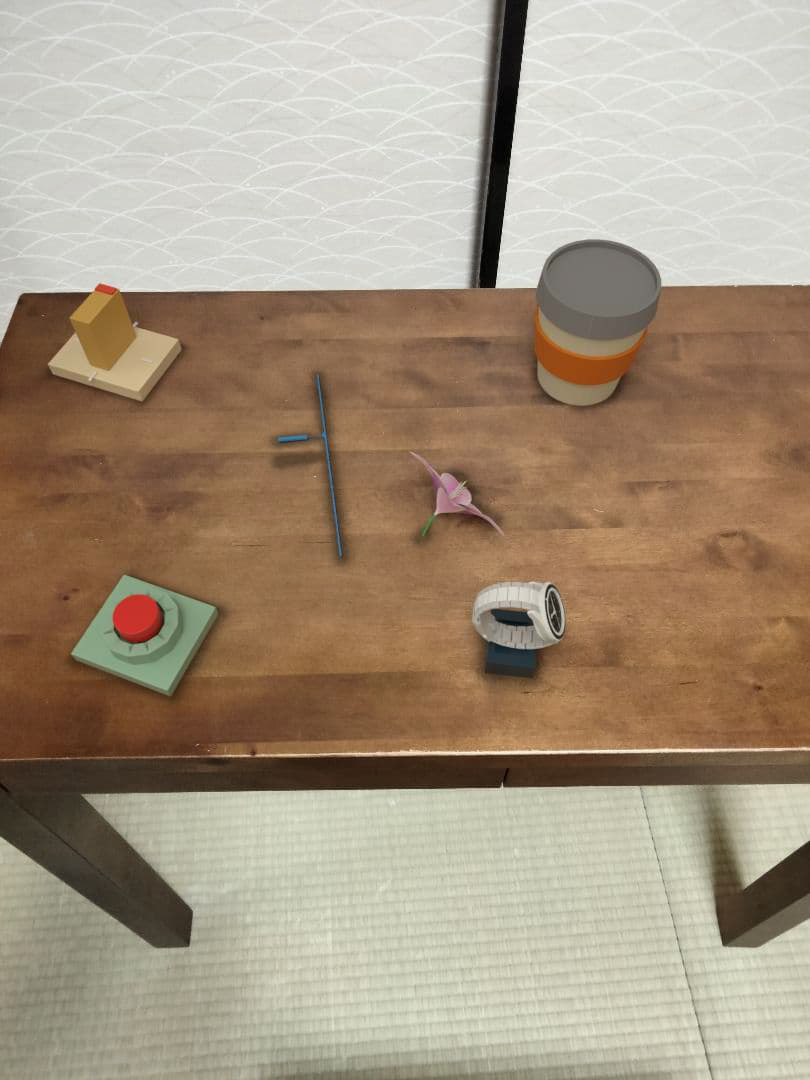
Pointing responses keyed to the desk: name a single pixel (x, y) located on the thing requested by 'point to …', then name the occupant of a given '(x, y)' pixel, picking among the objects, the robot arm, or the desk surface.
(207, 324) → the desk surface
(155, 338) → the plate
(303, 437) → the blue squeegee
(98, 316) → the thumbturn
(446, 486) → the lily
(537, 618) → the watch
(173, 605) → the green button mount
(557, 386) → the reusable coffee cup
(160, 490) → the desk surface
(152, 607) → the bell button
